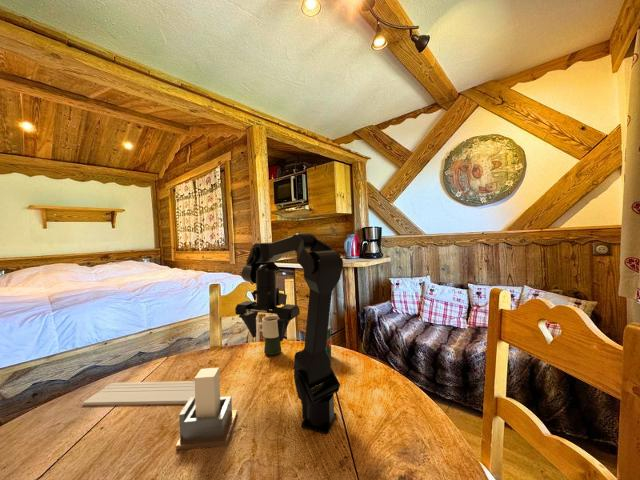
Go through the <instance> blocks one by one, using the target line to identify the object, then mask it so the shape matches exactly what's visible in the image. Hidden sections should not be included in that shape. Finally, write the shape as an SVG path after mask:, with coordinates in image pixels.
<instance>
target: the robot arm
mask: <svg viewBox="0 0 640 480" xmlns="http://www.w3.org/2000/svg"><path fill="white" fill-rule="evenodd" d="M308 251H310V252H308ZM294 253H296V261H297V263H298V264H299V265H300V267H302V269H303V278H304V280H305V282H306V284H307V287H308V288H309V294H308V303H307V304H308V306H307V316H306V329H305V338H304V339H305V340H304V346H303V349H302V350H300V351H296V352H295V354H294V358H293V360H294V362H293V363H294V364H293V366H292V367H293V368H292V370H294V371H293V381H294V385H295V389H296V394H297V399H299V400H300V403H301V407H302V408H301V409H302V410H301V411H302V414H301V417H302V419H303V420H302V422H301V425H300V426H301V427H302V428H304V429H308V430H311V431H315V432H318V433H322V434H325V435H326V434H329V433H330V430H331V429H332V426H333V425H334V422H335V421H336V418H337V417H338V414H337V413H336V412H335V397H334V395H335V393H338V392H339V391H340V388H341V383H340V382H339V379H338V378H337V376H336V374H335V372H334V370H333V368H332V360H331V359H332V358H331V359H330V357H329V356H328V354H327V352H326V342H327V333H328V325H329V322H330V321H329V320H330V311H331V305H332V304H331V303H332V295H333V294H332V293H333V291H334V289H335V287H336V286H337V284H338V282H340V280H341V275H342V272H343V267H344V260H343V257H341V255H340V254H339V252H338V251H336V250H334V249H333V248H332V246H330V245H328V244H326V243H324V242H323V241H321V240H320V239H318V238H317V237H316V236H315V235H314V234H312V233H310V232H309V233H307V232H306V233H304V232H303V233H295V234H293V235H291V236H288V237H286V238H282V239H279V240H276V241H273V242H255V243H254V244H253V245H252V247H251V249H250V251H249V254H248V257H247V259H246V263H245V265H244V266H243V268H242V270H241V272H240V274H241V278H242V279H243V281H244V282H247V283H250V284H251V283H252V284H255V287H256V288H255V290H253V295H256V301H252V300H245V301H243V302H242V301H241V302H240V303H237V304H236V306H235V309H234V310H235V311H234V312H235V313H234V314H235V315H238V318H240V319H241V320H242V322H243V323H244V325H245V326H246V327H247V329H248V331H249V333H250V335H251V337H252V338H257V316H258V314H259V313H264V314H272V315H273V314H274V315H277V316H278V317H279V318H280V319H278V320H277V324H278V333H279V339H280V343H281V342H283V340H284V339H285V336H286V332H287V331H286V329H287V330H288V325H289V323H290V322H291V321H292V320H293V319H295V318H296V317H298V316H299V315H300V311H301V310H300V307H299V306H298V305H297V304H287V299H288V294H285V293H282V292H280V288H279V287H277V272H278V271H280V267H279V266H278V265H277V264H276V263H275V262H277V261H279V260H280V259H281V258H282V257H283V256H285V255H290V254H294ZM281 305H282V306H281ZM279 306H280V307H279Z"/></svg>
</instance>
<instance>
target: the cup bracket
mask: <svg viewBox="0 0 640 480" xmlns="http://www.w3.org/2000/svg"><path fill="white" fill-rule="evenodd" d="M232 400H233V399H232V396H230V395H229V396H220V410H221V412H220V414H219V416H213V417H200V418H196V407H195V397H191V398H190V399H189V401H188V402H187V404H184V407H183V408H182V409H181V411H180V413H179V415H178V416H179V417H178V418H179V439H178V441H177V443H176V445H175V450H176V451H181V450H182V451H183V450H192V449H194V450H196V449H204V448H215V447H216V448H217V447H227V445H228V443H229V440H230V437H231V434H232V431H233V429H234V425H235V421H236V419H237V416H238V409H233V408H232V407H233V402H232Z"/></svg>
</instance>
